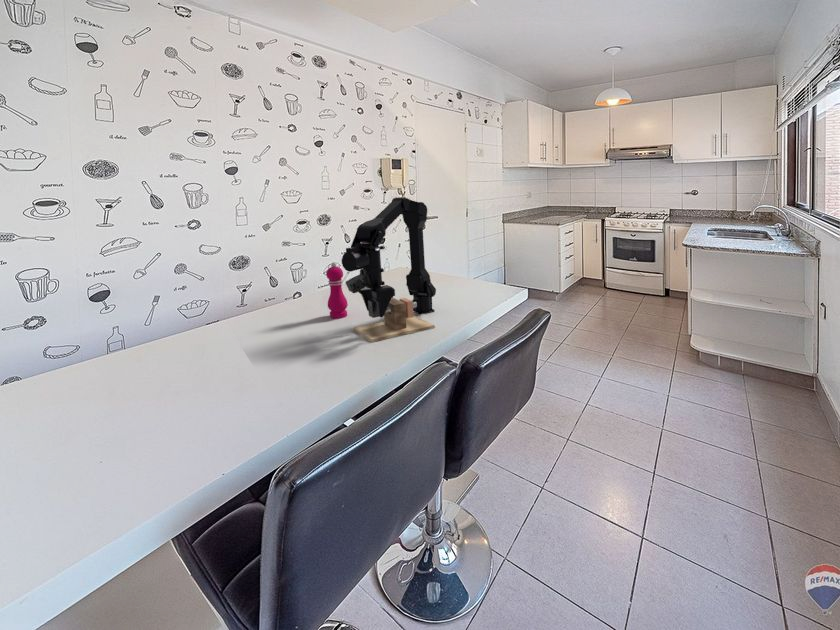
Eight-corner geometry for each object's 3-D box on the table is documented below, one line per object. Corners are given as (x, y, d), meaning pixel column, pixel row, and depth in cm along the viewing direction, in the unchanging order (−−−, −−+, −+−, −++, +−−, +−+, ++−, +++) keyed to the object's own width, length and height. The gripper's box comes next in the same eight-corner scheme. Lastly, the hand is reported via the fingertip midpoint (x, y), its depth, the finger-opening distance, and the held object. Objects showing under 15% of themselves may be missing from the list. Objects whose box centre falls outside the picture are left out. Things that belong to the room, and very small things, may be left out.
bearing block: (395, 321, 153) (393, 298, 150) (406, 327, 146) (405, 303, 143) (384, 324, 151) (383, 300, 148) (395, 330, 144) (394, 305, 142)
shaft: (413, 306, 152) (412, 292, 151) (418, 309, 149) (417, 293, 148) (368, 315, 144) (367, 300, 143) (373, 318, 141) (372, 302, 140)
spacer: (405, 313, 152) (404, 297, 151) (413, 316, 148) (412, 301, 146) (400, 314, 151) (399, 298, 150) (408, 317, 147) (407, 302, 145)
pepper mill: (344, 319, 161) (339, 264, 155) (325, 318, 163) (320, 264, 157) (351, 313, 168) (346, 260, 162) (333, 313, 169) (328, 260, 164)
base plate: (413, 317, 160) (413, 315, 159) (434, 327, 148) (434, 324, 148) (353, 330, 149) (353, 327, 148) (371, 342, 137) (371, 339, 137)
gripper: (336, 264, 143) (340, 311, 147) (359, 273, 127) (363, 325, 132) (368, 260, 148) (371, 305, 153) (394, 268, 133) (397, 319, 137)
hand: (375, 313), depth 143 cm, fingers open, 9 cm apart
